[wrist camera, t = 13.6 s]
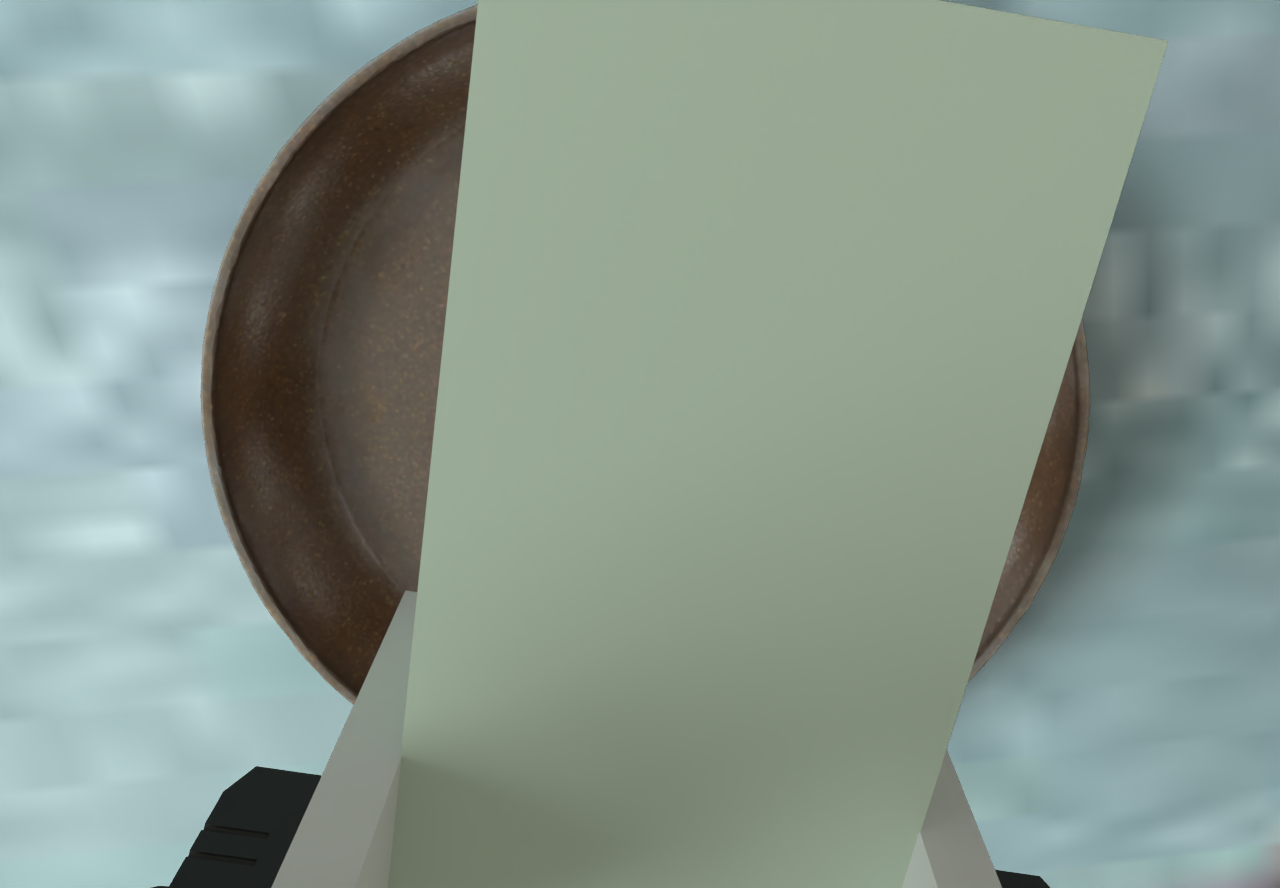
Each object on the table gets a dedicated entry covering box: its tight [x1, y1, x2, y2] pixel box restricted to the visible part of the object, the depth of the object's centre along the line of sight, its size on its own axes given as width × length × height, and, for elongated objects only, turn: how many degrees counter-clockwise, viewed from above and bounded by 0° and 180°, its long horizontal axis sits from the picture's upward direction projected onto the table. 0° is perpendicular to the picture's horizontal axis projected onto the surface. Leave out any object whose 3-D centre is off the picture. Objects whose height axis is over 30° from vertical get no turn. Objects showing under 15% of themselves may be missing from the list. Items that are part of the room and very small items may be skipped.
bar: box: [388, 0, 1168, 888], centre depth 13 cm, size 6×14×3 cm, turn 171°
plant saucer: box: [201, 4, 1090, 705], centre depth 27 cm, size 21×21×3 cm
